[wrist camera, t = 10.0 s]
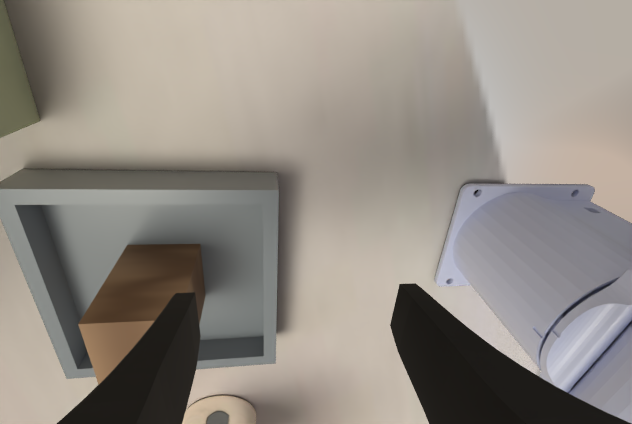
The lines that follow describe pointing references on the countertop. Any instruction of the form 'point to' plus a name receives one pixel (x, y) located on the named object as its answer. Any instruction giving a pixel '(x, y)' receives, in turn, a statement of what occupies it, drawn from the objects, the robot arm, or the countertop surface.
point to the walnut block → (138, 299)
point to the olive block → (13, 82)
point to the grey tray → (141, 229)
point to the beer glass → (220, 411)
